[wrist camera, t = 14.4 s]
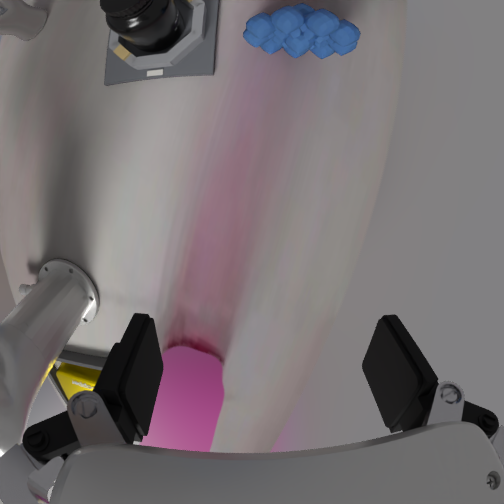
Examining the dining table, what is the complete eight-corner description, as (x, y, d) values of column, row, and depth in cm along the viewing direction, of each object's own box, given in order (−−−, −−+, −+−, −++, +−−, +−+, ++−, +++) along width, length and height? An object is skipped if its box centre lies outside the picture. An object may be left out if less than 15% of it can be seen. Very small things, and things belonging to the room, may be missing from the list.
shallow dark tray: (71, 400, 54) (68, 407, 51) (41, 344, 46) (36, 351, 43) (140, 415, 55) (138, 423, 52) (117, 360, 46) (113, 369, 44)
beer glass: (55, 2, 20) (-2, -23, 6) (41, 39, 23) (-24, 24, 9) (27, 10, 19) (-30, -6, 5) (14, 46, 22) (-48, 38, 8)
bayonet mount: (106, 85, 28) (94, 82, 25) (118, -2, 22) (108, -11, 19) (213, 75, 28) (210, 69, 25) (220, -16, 23) (218, -28, 19)
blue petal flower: (338, 30, 26) (377, -4, 15) (335, 74, 29) (377, 54, 18) (246, 15, 25) (248, -31, 14) (240, 61, 28) (240, 27, 17)
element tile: (121, 373, 49) (114, 390, 44) (131, 411, 55) (127, 427, 50) (61, 356, 47) (52, 371, 43) (77, 396, 53) (71, 410, 49)
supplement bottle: (196, 28, 25) (176, -14, 14) (152, 63, 27) (111, 37, 16) (165, -1, 23) (135, -44, 12) (123, 33, 24) (77, 3, 13)
